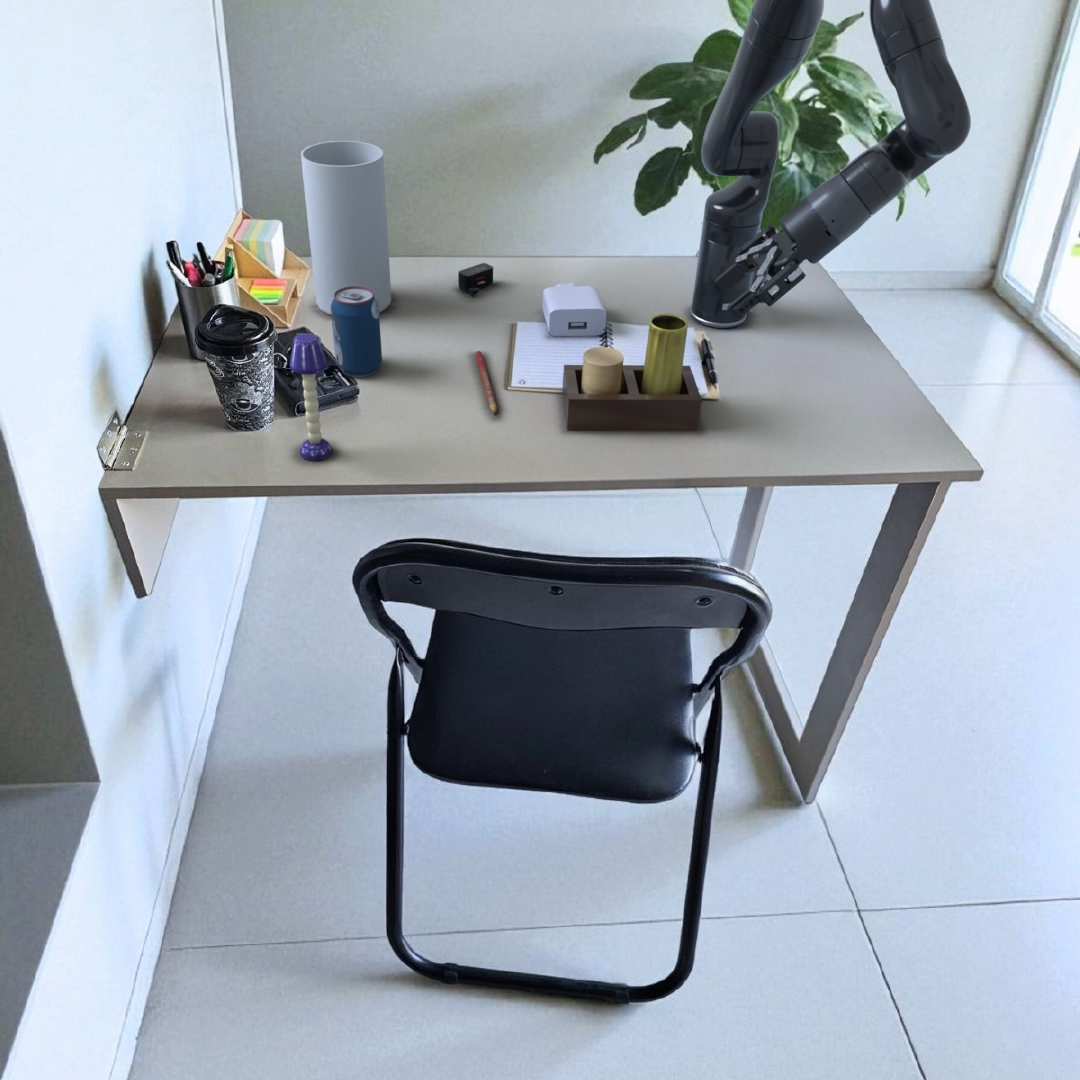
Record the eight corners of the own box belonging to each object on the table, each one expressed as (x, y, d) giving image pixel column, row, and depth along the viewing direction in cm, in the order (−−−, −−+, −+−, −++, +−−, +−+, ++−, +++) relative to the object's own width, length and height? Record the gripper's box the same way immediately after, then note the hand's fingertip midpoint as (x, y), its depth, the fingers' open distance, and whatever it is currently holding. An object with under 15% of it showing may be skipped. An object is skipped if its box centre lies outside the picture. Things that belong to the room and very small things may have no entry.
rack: (562, 394, 154) (563, 364, 151) (685, 395, 155) (690, 365, 152) (566, 430, 146) (568, 399, 143) (697, 430, 147) (701, 399, 144)
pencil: (474, 356, 163) (474, 350, 162) (481, 355, 163) (481, 350, 163) (491, 418, 148) (491, 412, 148) (499, 418, 148) (499, 412, 148)
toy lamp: (302, 442, 141) (288, 329, 131) (336, 441, 142) (326, 329, 132) (298, 461, 138) (284, 347, 127) (334, 461, 138) (322, 346, 128)
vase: (683, 406, 153) (695, 316, 144) (673, 426, 148) (685, 335, 139) (642, 398, 154) (652, 309, 145) (632, 418, 149) (641, 327, 141)
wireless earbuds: (453, 290, 182) (453, 272, 180) (484, 279, 186) (484, 262, 184) (471, 299, 179) (471, 281, 177) (501, 288, 183) (502, 270, 181)
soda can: (391, 364, 160) (387, 290, 152) (366, 383, 155) (361, 308, 147) (352, 353, 162) (346, 280, 155) (327, 372, 157) (320, 298, 150)
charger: (590, 296, 182) (604, 335, 170) (537, 297, 181) (548, 336, 169) (592, 270, 179) (606, 308, 167) (538, 271, 178) (549, 309, 166)
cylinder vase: (335, 284, 182) (322, 137, 167) (402, 294, 180) (395, 146, 164) (303, 313, 172) (286, 160, 157) (374, 325, 170) (363, 170, 155)
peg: (596, 398, 154) (600, 343, 148) (626, 412, 151) (631, 356, 145) (571, 412, 150) (575, 355, 145) (601, 426, 147) (606, 369, 142)
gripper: (795, 178, 138) (699, 260, 144) (824, 218, 127) (717, 304, 133) (826, 218, 142) (731, 296, 148) (857, 260, 130) (752, 342, 137)
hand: (725, 300), depth 141 cm, fingers open, 8 cm apart
